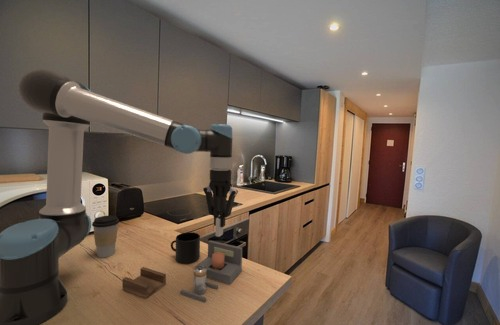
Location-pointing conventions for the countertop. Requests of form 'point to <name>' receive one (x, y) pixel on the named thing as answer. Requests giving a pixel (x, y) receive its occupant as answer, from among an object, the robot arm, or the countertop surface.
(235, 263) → the grey blocks and bars
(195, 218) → the countertop surface
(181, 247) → the mug
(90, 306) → the countertop surface
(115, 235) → the coffee cup
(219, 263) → the test button
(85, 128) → the robot arm
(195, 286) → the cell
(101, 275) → the countertop surface
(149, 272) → the trough
